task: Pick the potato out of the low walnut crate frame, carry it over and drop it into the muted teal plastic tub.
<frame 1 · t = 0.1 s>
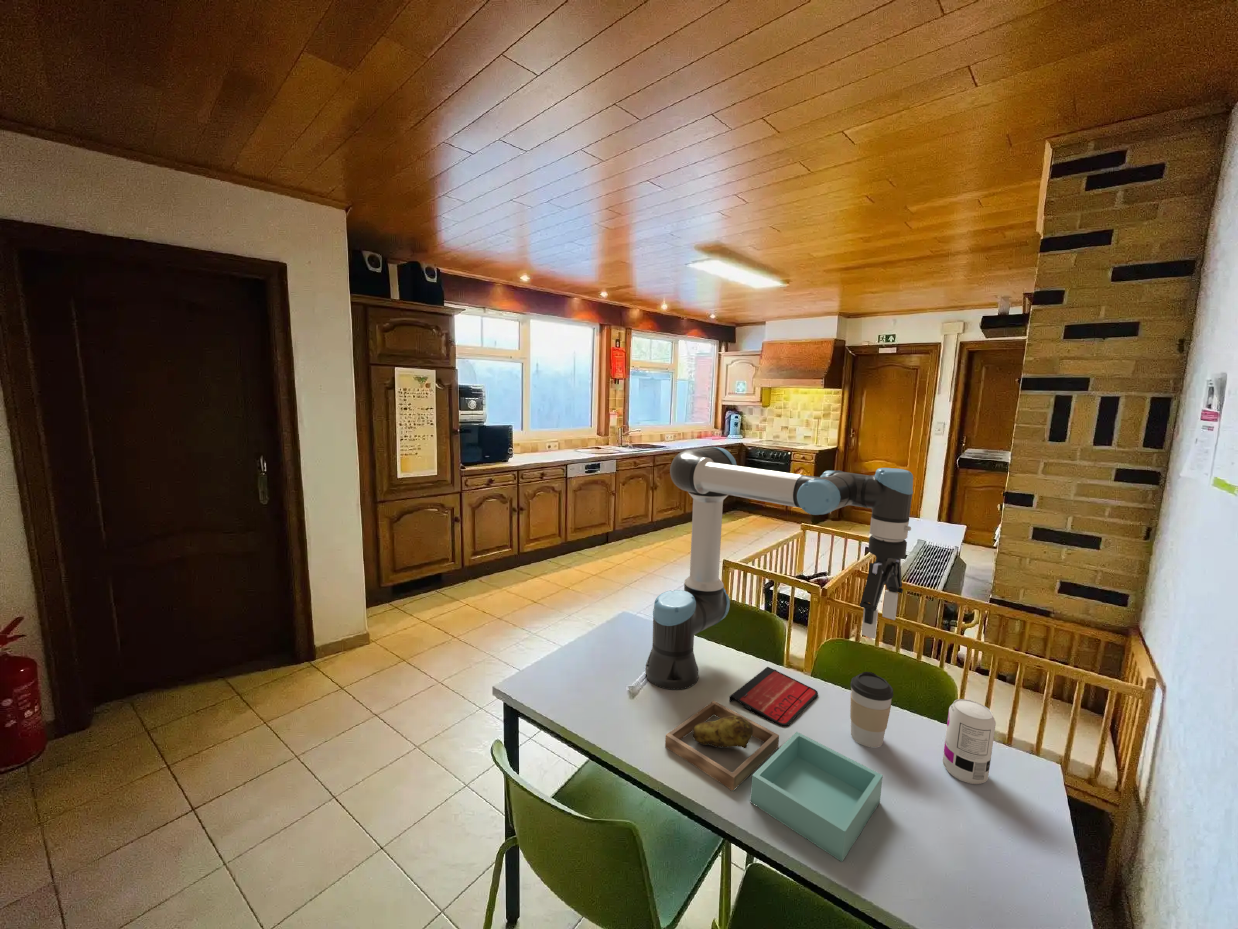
hand: (878, 626, 118), 28 cm above the table, fingers open, 13 cm apart
coffee cup: (866, 738, 122), on the table
supplement can: (964, 773, 111), on the table
binder: (775, 700, 137), on the table
crate frame: (721, 746, 117), on the table
tub: (815, 802, 102), on the table
potato: (721, 747, 117), resting in crate frame
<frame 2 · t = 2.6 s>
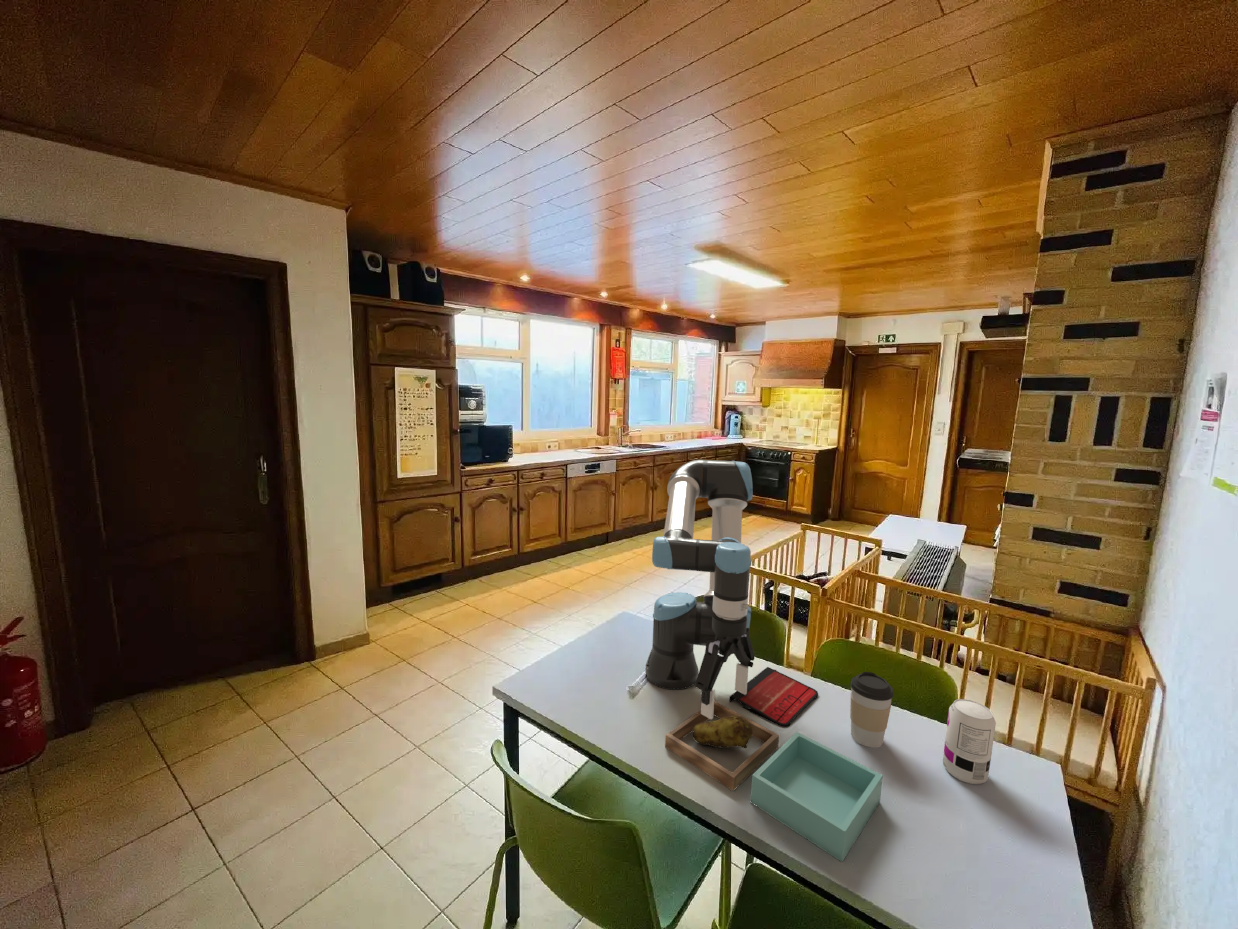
hand: (724, 703, 115), 11 cm above the table, fingers open, 13 cm apart
nothing on the table moved.
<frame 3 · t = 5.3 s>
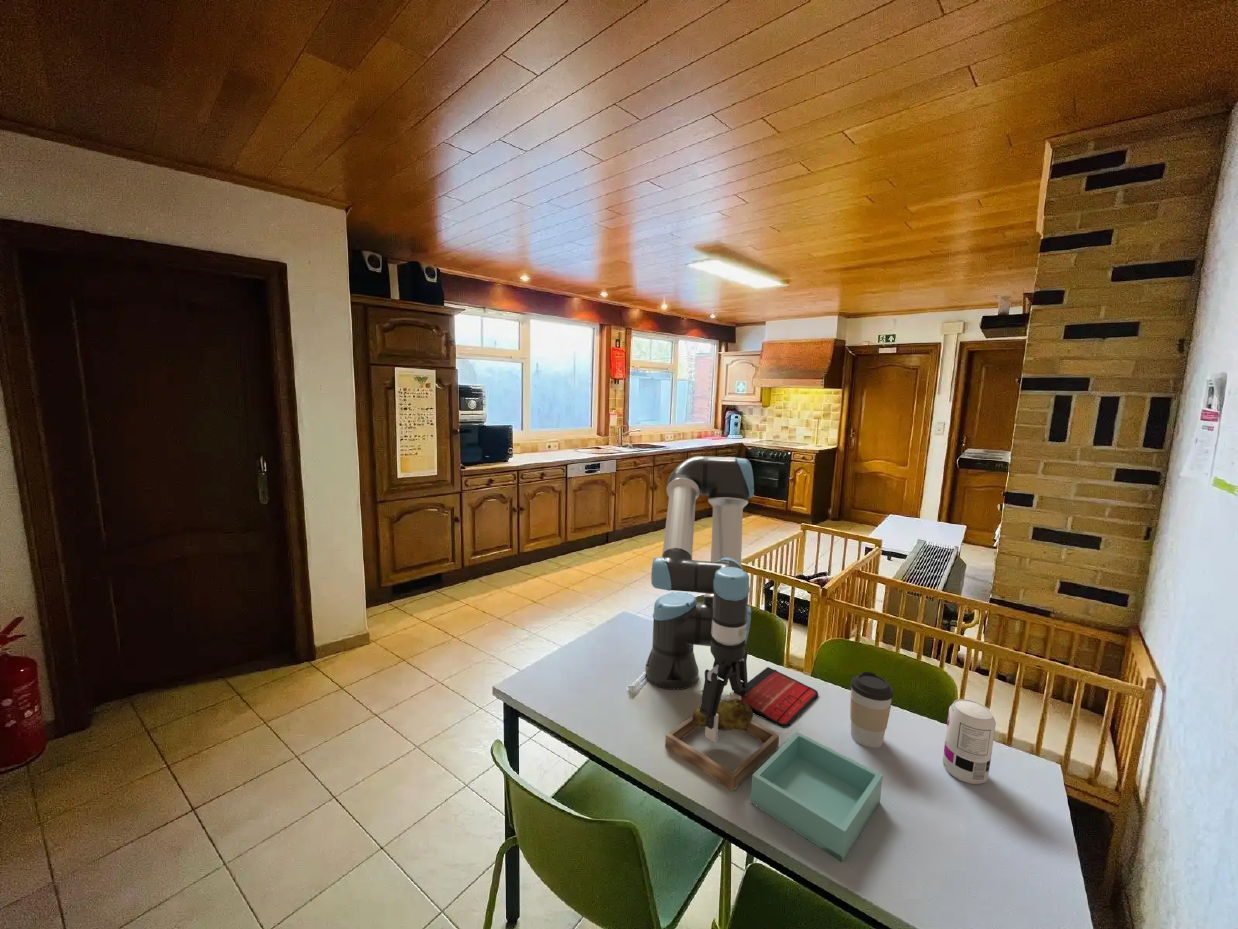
hand: (722, 728, 117), 4 cm above the table, fingers closed on potato, 8 cm apart
potato: (721, 730, 118), point 3 cm above the table, touching gripper
everything else where it was.
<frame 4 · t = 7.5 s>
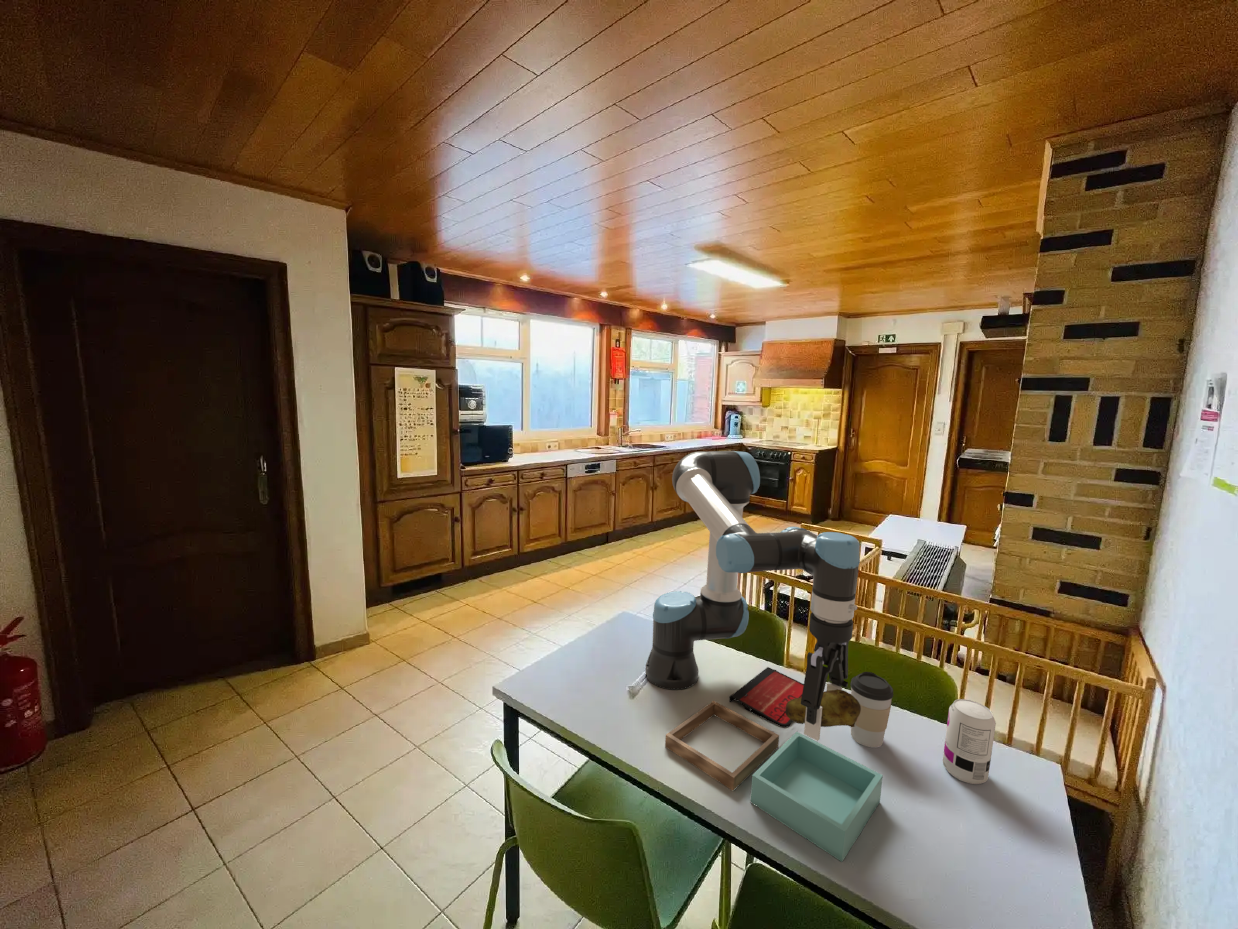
hand: (822, 725, 99), 17 cm above the table, fingers closed on potato, 8 cm apart
potato: (821, 727, 100), point 16 cm above the table, touching gripper
everything else where it was.
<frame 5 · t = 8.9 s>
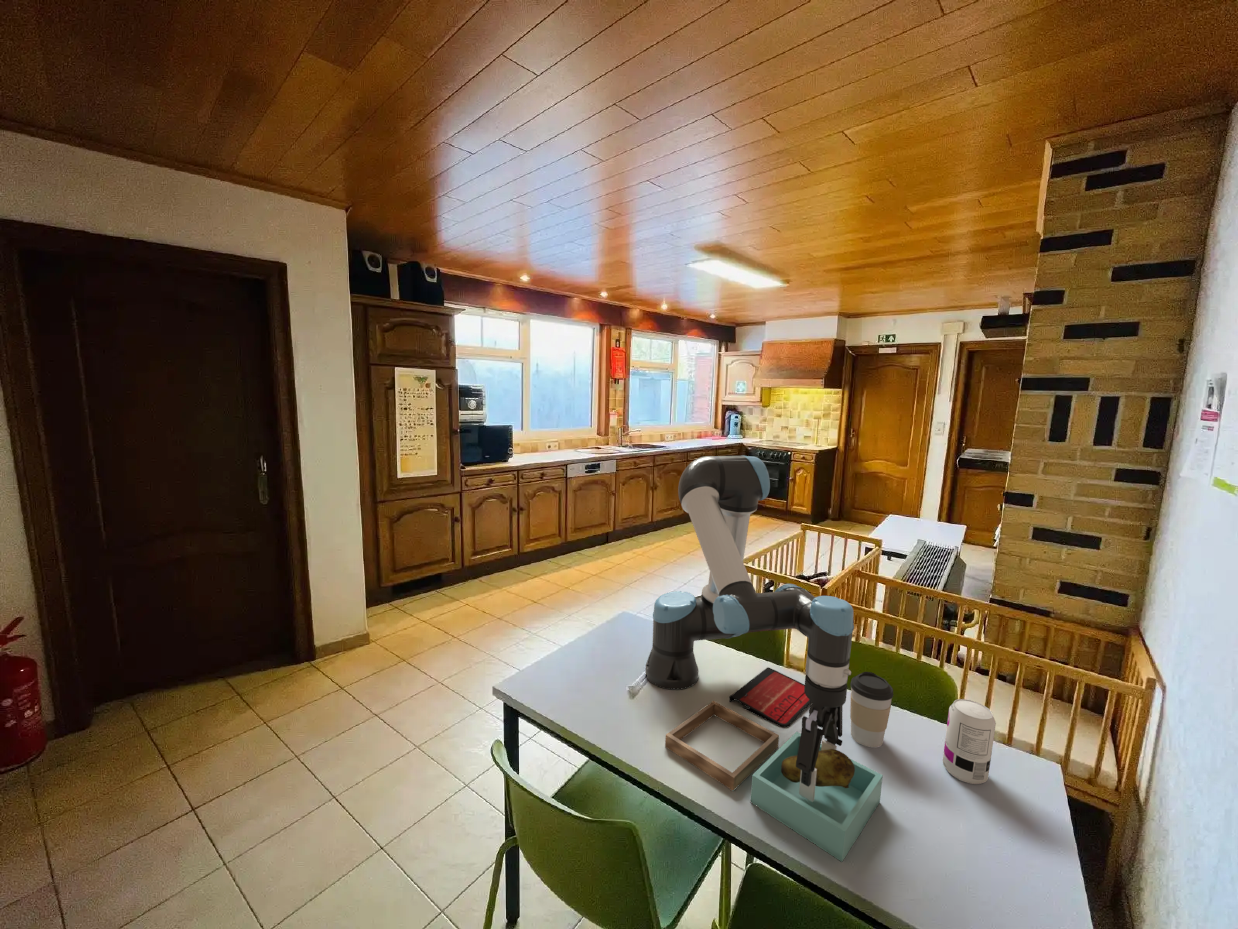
hand: (816, 784, 101), 4 cm above the table, fingers closed on potato, 8 cm apart
potato: (815, 786, 101), point 4 cm above the table, touching gripper
everything else where it was.
when the fingers open (4 cm above the table, at t = 9.7 s): potato drops 2 cm, resting on tub.
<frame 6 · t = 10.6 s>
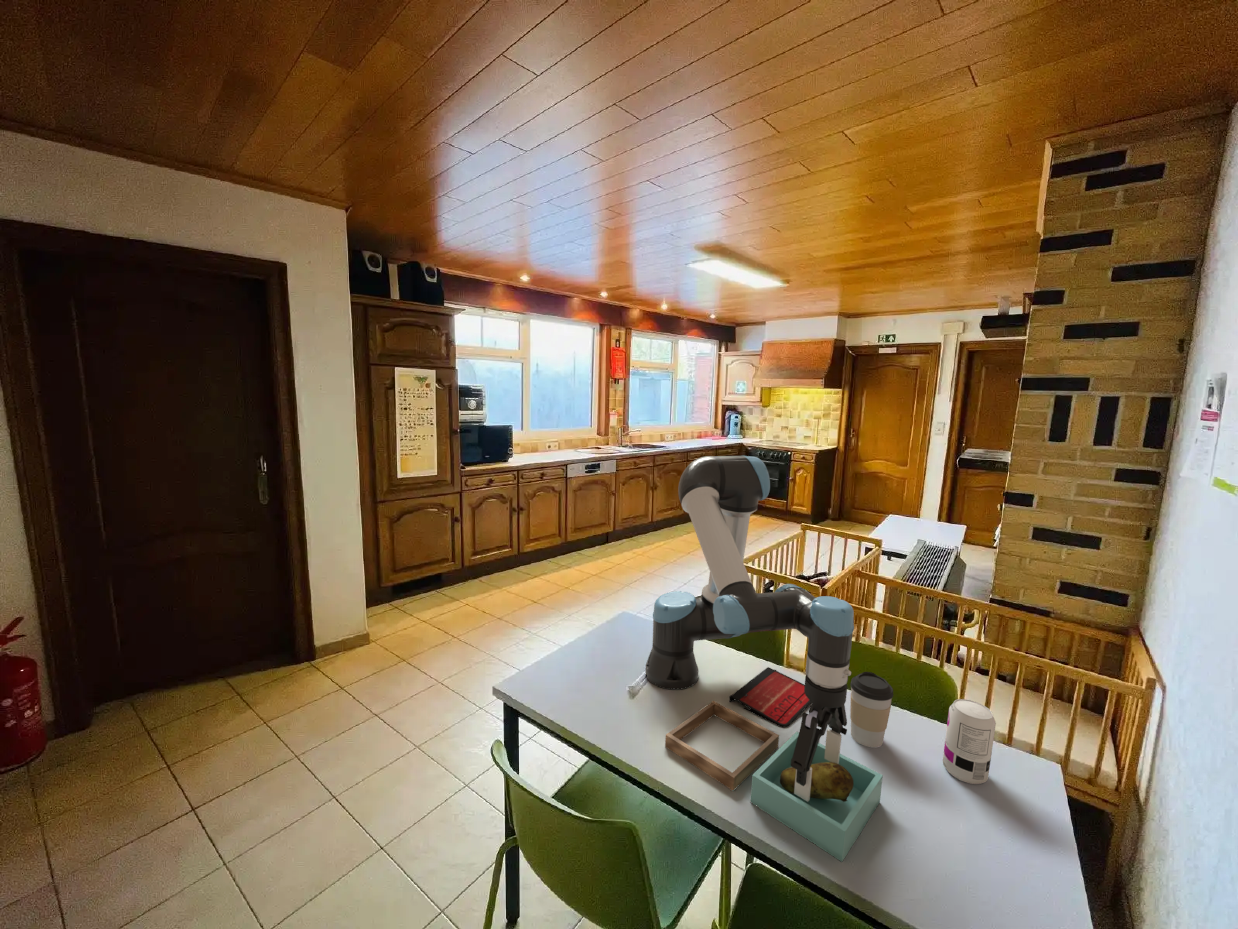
hand: (817, 778, 101), 5 cm above the table, fingers open, 13 cm apart
potato: (814, 797, 102), point 1 cm above the table, touching tub
everything else where it was.
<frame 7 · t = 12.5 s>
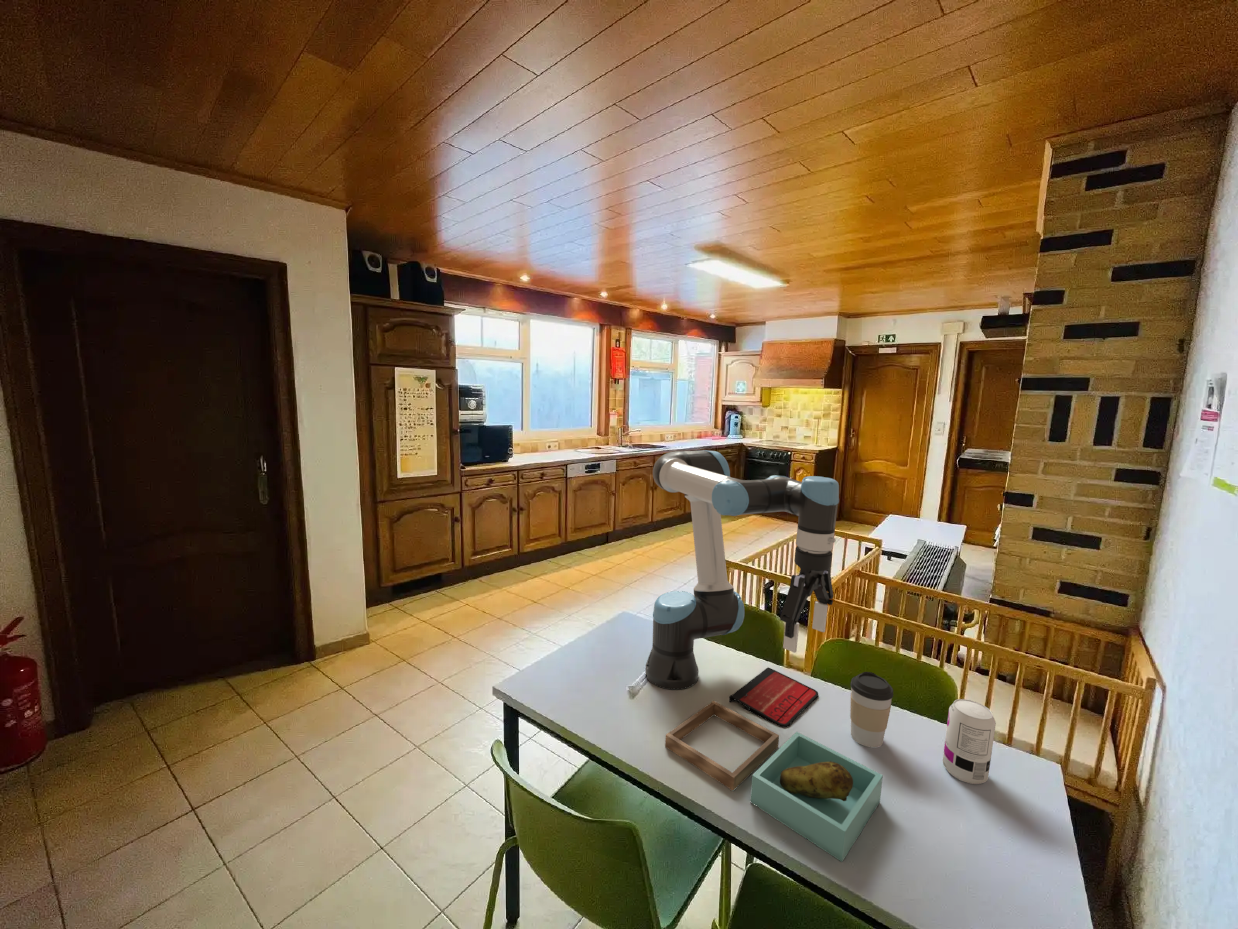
hand: (804, 639, 114), 26 cm above the table, fingers open, 13 cm apart
nothing on the table moved.
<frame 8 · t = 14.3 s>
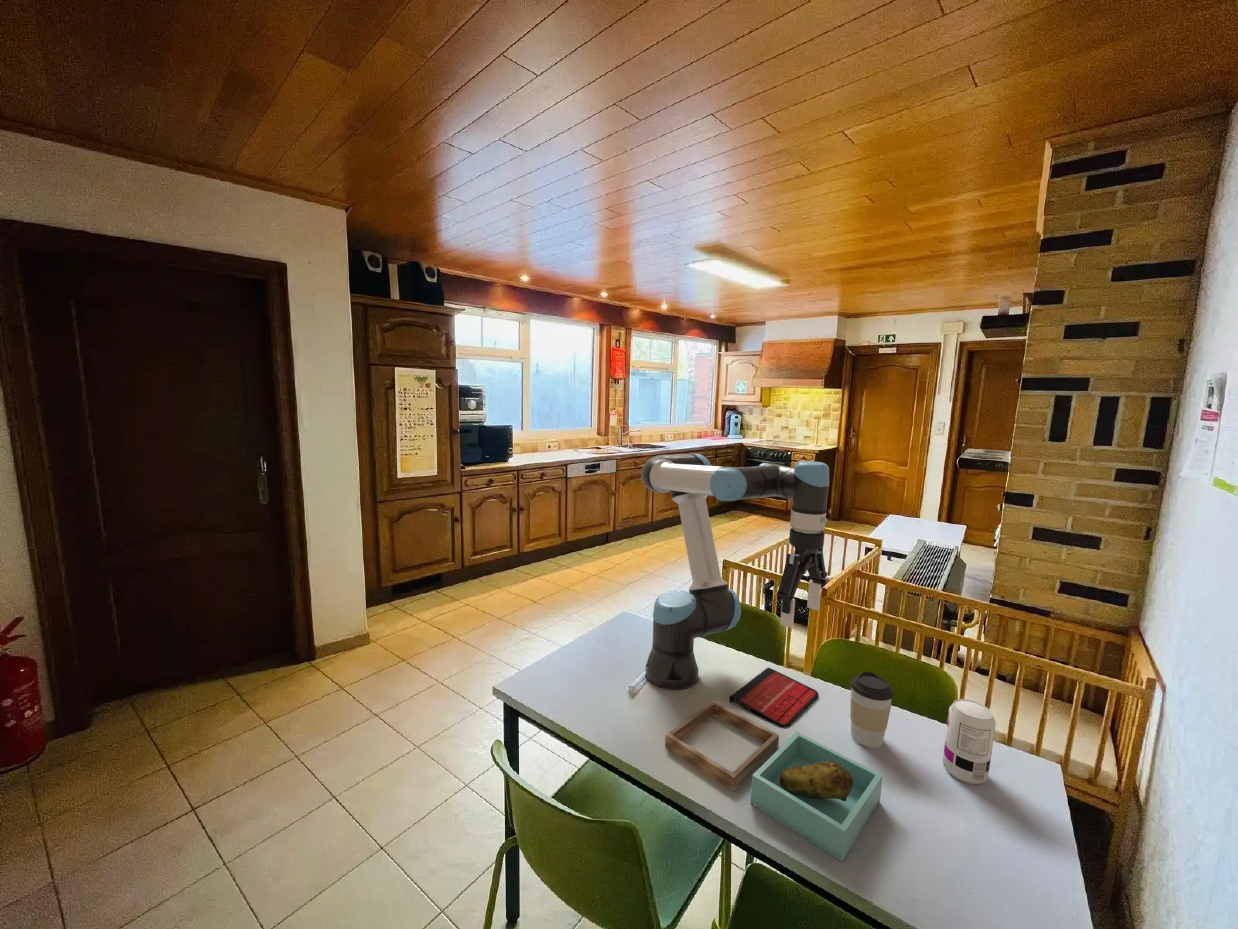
hand: (800, 616, 120), 29 cm above the table, fingers open, 13 cm apart
nothing on the table moved.
at the end: potato inside the target area on the tub (0.3 cm from its centre), point 0.8 cm above the tub's base; the gripper is holding nothing; potato inside the target area (8.7 cm from its centre), point 0.8 cm above the table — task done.
